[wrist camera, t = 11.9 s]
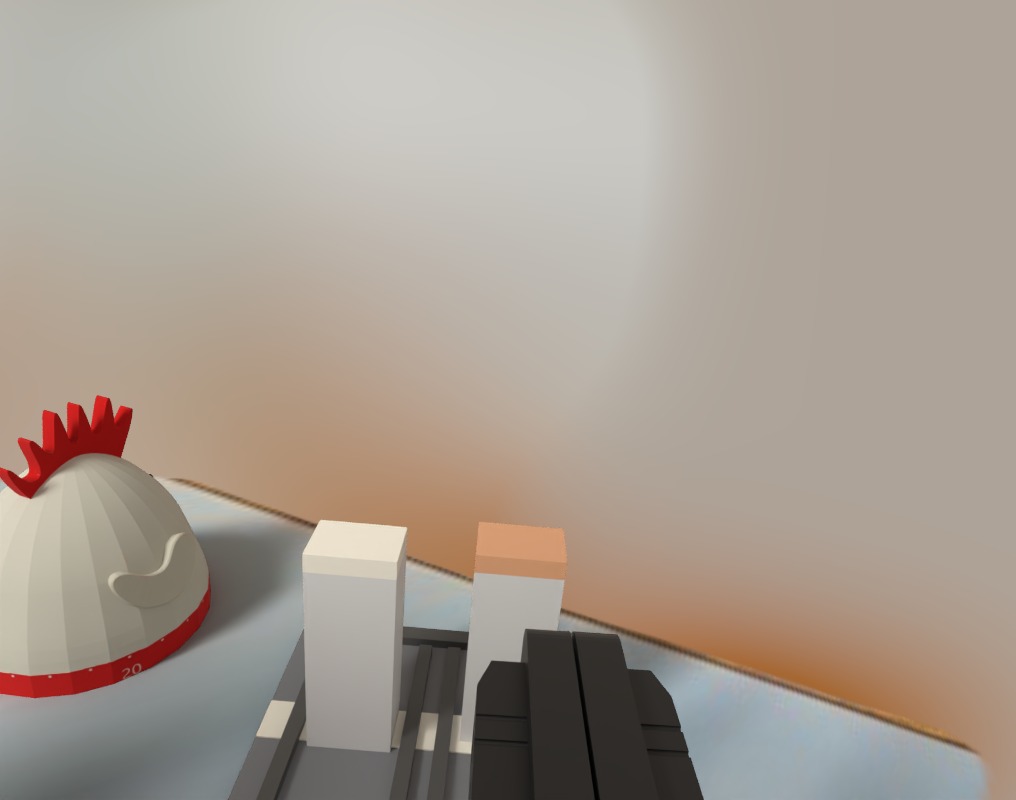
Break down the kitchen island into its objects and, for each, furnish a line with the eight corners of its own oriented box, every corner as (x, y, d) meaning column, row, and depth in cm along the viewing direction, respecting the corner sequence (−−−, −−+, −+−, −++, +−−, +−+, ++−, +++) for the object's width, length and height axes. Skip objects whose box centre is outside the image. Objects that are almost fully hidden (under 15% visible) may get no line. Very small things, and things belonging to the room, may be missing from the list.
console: (69, 1183, 21) (-11, 914, 16) (307, 632, 44) (303, 457, 39) (639, 1222, 21) (726, 969, 16) (575, 655, 44) (603, 484, 40)
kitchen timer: (253, 587, 48) (243, 395, 42) (79, 731, 36) (33, 486, 30) (108, 537, 52) (81, 355, 46) (-94, 650, 40) (-162, 421, 34)
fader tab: (459, 741, 36) (475, 555, 31) (463, 697, 39) (479, 521, 34) (539, 747, 36) (567, 563, 32) (538, 704, 39) (563, 529, 34)
